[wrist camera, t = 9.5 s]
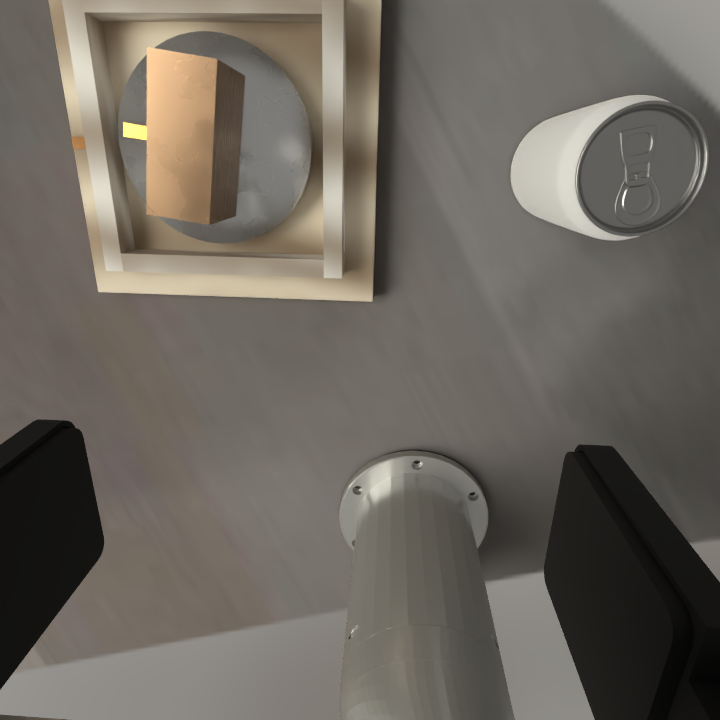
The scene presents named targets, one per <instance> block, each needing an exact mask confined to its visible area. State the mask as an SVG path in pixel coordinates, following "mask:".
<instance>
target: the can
mask: <svg viewBox="0 0 720 720" xmlns="http://www.w3.org/2000/svg"><path fill="white" fill-rule="evenodd" d="M708 166H709V146H708V141H707V137H706V134H705V132H704V130H703V128H702V126H701V124H700V123H699V121H698V120H697V119H696V118H695V117H694V116H693V115H692V114H691V113H690V112H689V111H688V110H686V109H684V108H683V107H681V106H679V105H677V104H674V103H671V102H669V101H667V100H664V99H662V98H659V97H655V96H649V95H631V96H624V97H620V98H615V99H612V100H608V101H605V102H601V103H598V104H594V105H591V106H588V107H584V108H581V109H578V110H574V111H571V112H568V113H565V114H561V115H558V116H555V117H553V118H550V119H548V120H545V121H544V122H542V123H540V124H539V125H537V126H536V127H534V128H533V129H532V130H531V131H530V132H529V133H528V134H527V135H526V136H525V137H524V139H523V140H522V141H521V143H520V144H519V146H518V148H517V150H516V152H515V154H514V157H513V161H512V165H511V184H512V189H513V192H514V194H515V196H516V198H517V200H518V202H519V203H520V204H521V205H522V207H523V208H524V209H526V210H527V211H528V212H529V213H531V214H532V215H534V216H536V217H538V218H541V219H543V220H546V221H548V222H551V223H554V224H556V225H559V226H562V227H565V228H567V229H570V230H573V231H576V232H579V233H581V234H584V235H587V236H590V237H594V238H598V239H603V240H626V239H631V238H635V237H638V236H641V235H646V234H649V233H653V232H655V231H658V230H660V229H662V228H664V227H666V226H667V225H669V224H671V223H672V222H674V221H675V220H676V219H677V218H679V217H680V216H681V215H682V214H683V213H684V212H685V211H686V210H687V209H688V208H689V207H690V206H691V204H692V203H693V202H694V200H695V199H696V197H697V196H698V194H699V192H700V190H701V188H702V186H703V184H704V181H705V178H706V175H707V171H708Z"/></svg>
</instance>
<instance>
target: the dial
mask: <svg viewBox="0 0 720 720" xmlns="http://www.w3.org/2000/svg"><path fill="white" fill-rule="evenodd" d="M118 137H119V145H120V150H121V156H122V159H123V162H124V165H125V168H126V171H127V173H128V175H129V178H130V180H131V182H132V184H133V186H134V187H135V189H136V191H137V193H138V194H139V195H140V197H141V198H142V200H143V201H144V202H145V204H146V214H148V215H154V216H158V217H159V218H160V219H161V220H162V221H164V222H165V223H166V224H168V225H169V226H171V227H172V228H174V229H175V230H177V231H179V232H181V233H183V234H185V235H187V236H189V237H192V238H195V239H197V240H201V241H206V242H210V243H220V244H224V243H237V242H243V241H246V240H250V239H253V238H256V237H258V236H260V235H262V234H264V233H266V232H268V231H270V230H271V229H273V228H274V227H276V226H277V225H279V224H280V223H281V222H282V221H283V220H285V219H286V218H287V217H288V216H289V215H290V214H291V212H292V211H293V210H294V209H295V208H296V206H297V205H298V203H299V201H300V200H301V198H302V197H303V194H304V192H305V190H306V188H307V186H308V182H309V179H310V176H311V172H312V166H313V159H314V139H313V131H312V125H311V121H310V117H309V114H308V111H307V108H306V106H305V103H304V101H303V99H302V97H301V94H300V93H299V91H298V89H297V88H296V86H295V84H294V83H293V82H292V80H291V79H290V78H289V76H288V75H287V74H286V72H285V71H284V70H283V69H282V68H281V67H280V66H279V65H278V64H277V63H276V62H275V61H273V60H272V59H271V58H270V57H269V56H268V55H266V54H265V53H264V52H262V51H261V50H260V49H258V48H257V47H255V46H253V45H252V44H250V43H248V42H247V41H245V40H242V39H240V38H237V37H235V36H232V35H228V34H224V33H220V32H211V31H197V32H189V33H185V34H180V35H177V36H175V37H172V38H170V39H167V40H166V41H164V42H162V43H161V44H159V45H157V46H156V47H155V48H150V47H147V54H146V55H145V57H144V58H143V59H142V60H141V61H140V62H139V63H138V65H137V66H136V68H135V69H134V71H133V72H132V74H131V75H130V77H129V80H128V82H127V84H126V86H125V89H124V92H123V95H122V98H121V102H120V108H119V114H118Z"/></svg>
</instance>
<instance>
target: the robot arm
mask: <svg viewBox="0 0 720 720" xmlns="http://www.w3.org/2000/svg"><path fill="white" fill-rule="evenodd" d="M417 460H418V461H417ZM340 525H341V530H342V533H343V536H344V538H345V540H346V542H347V544H348V545H349V546H350V548H351V549H352V550H353V552H354V554H353V564H352V574H351V584H350V593H349V603H348V613H347V622H346V632H345V642H344V652H343V662H342V671H341V681H340V692H339V713H340V720H515V719H514V714H513V710H512V705H511V701H510V696H509V692H508V687H507V683H506V678H505V674H504V669H503V665H502V660H501V655H500V651H499V646H498V642H497V637H496V633H495V628H494V623H493V619H492V614H491V609H490V605H489V600H488V596H487V591H486V586H485V582H484V577H483V573H482V568H481V563H480V559H479V554H478V550H477V549H478V548H479V546H480V545H481V543H482V541H483V539H484V537H485V535H486V531H487V527H488V508H487V504H486V500H485V497H484V494H483V491H482V489H481V487H480V485H479V484H478V482H477V481H476V479H475V478H474V477H473V476H472V475H471V474H470V473H469V472H468V471H467V469H465V468H464V467H462V466H461V465H459V464H458V463H457V462H455V461H453V460H451V459H449V458H446V457H444V456H442V455H438V454H434V453H431V452H424V451H401V452H395V453H391V454H387V455H384V456H382V457H379V458H377V459H375V460H373V461H371V462H370V463H368V464H367V465H365V466H364V467H362V468H361V469H360V470H359V471H358V472H357V473H356V474H355V475H354V476H353V477H352V478H351V480H350V481H349V483H348V485H347V486H346V488H345V491H344V493H343V496H342V499H341V506H340ZM103 547H104V536H103V531H102V526H101V521H100V516H99V512H98V507H97V502H96V497H95V492H94V487H93V482H92V477H91V472H90V467H89V463H88V458H87V453H86V448H85V443H84V438H83V435H82V432H81V431H80V430H79V429H76V428H75V426H74V425H73V424H72V423H71V422H69V421H62V420H36V421H34V422H32V423H31V424H29V425H28V426H26V427H25V428H23V429H22V430H21V431H19V432H18V433H16V434H15V435H14V436H12V437H11V438H9V439H8V440H6V441H5V442H4V443H2V444H1V445H0V689H1V688H2V687H3V685H4V684H5V683H6V681H7V680H8V679H9V677H10V676H11V675H12V673H13V672H14V671H15V670H16V668H17V667H18V666H19V664H20V663H21V662H22V660H23V659H24V658H25V656H26V655H27V654H28V652H29V651H30V650H31V648H32V647H33V646H34V644H35V643H36V642H37V640H38V639H39V638H40V636H41V635H42V634H43V632H44V631H45V630H46V628H47V627H48V626H49V624H50V623H51V622H52V620H53V619H54V618H55V616H56V615H57V614H58V612H59V611H60V610H61V608H62V607H63V606H64V604H65V603H66V602H67V600H68V599H69V598H70V596H71V595H72V594H73V592H74V591H75V590H76V589H77V587H78V586H79V585H80V583H81V582H82V581H83V579H84V578H85V577H86V575H87V574H88V573H89V571H90V570H91V569H92V567H93V566H94V565H95V563H96V562H97V561H98V559H99V558H100V556H101V554H102V551H103ZM544 575H545V576H544V577H545V583H546V586H547V589H548V592H549V595H550V597H551V600H552V603H553V606H554V608H555V611H556V614H557V617H558V619H559V622H560V625H561V628H562V630H563V633H564V636H565V639H566V641H567V644H568V647H569V650H570V652H571V655H572V658H573V661H574V663H575V666H576V669H577V672H578V674H579V677H580V680H581V683H582V685H583V688H584V691H585V694H586V696H587V699H588V702H589V705H590V707H591V710H592V713H593V716H594V718H595V720H720V582H719V581H718V580H717V578H716V577H715V576H714V575H713V573H712V572H711V571H710V569H709V568H708V567H707V566H706V564H705V563H704V562H703V561H702V560H701V558H700V557H699V555H698V554H697V553H696V552H695V550H694V549H693V548H692V546H691V545H690V544H689V543H688V541H687V540H686V539H685V537H684V536H683V535H682V534H681V532H680V531H679V530H678V529H677V527H676V526H675V525H674V523H673V522H672V521H671V520H670V518H669V517H668V516H667V515H666V513H665V512H664V511H663V509H662V508H661V507H660V506H659V504H658V503H657V502H656V501H655V499H654V498H653V497H652V495H651V494H650V493H649V492H648V490H647V489H646V488H645V486H644V485H643V484H642V483H641V481H640V480H639V479H638V478H637V476H636V475H635V474H634V472H633V471H632V470H631V469H630V467H629V466H628V465H627V464H626V462H625V461H624V460H623V458H622V457H621V456H620V455H619V453H618V452H617V451H616V450H615V449H614V448H613V447H612V446H600V445H578V446H577V447H576V449H575V452H568V453H567V454H566V455H565V459H564V463H563V469H562V474H561V479H560V485H559V490H558V495H557V501H556V506H555V511H554V516H553V522H552V527H551V532H550V538H549V543H548V548H547V554H546V559H545V565H544ZM0 720H65V719H52V718H38V717H25V716H10V715H0Z"/></svg>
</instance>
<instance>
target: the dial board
mask: <svg viewBox="0 0 720 720" xmlns="http://www.w3.org/2000/svg"><path fill="white" fill-rule="evenodd" d="M49 6H50V12H51V18H52V24H53V29H54V35H55V41H56V47H57V53H58V59H59V65H60V70H61V76H62V82H63V88H64V94H65V100H66V105H67V111H68V117H69V123H70V129H71V135H72V142H73V148H74V152H75V158H76V164H77V170H78V175H79V181H80V187H81V193H82V199H83V205H84V211H85V216H86V222H87V228H88V234H89V240H90V246H91V251H92V257H93V263H94V269H95V275H96V281H97V286H98V292H115V293H144V294H172V295H201V296H229V297H258V298H286V299H315V300H343V301H373V285H374V252H375V219H376V185H377V152H378V119H379V85H380V52H381V19H382V0H49ZM197 31H211V32H220V33H224V34H228V35H232V36H235V37H237V38H240V39H242V40H245V41H247V42H248V43H250V44H252V45H253V46H255V47H257V48H258V49H260V50H261V51H262V52H264V53H265V54H266V55H268V56H269V57H270V58H271V59H272V60H273V61H275V62H276V63H277V64H278V65H279V66H280V67H281V68H282V69H283V70H284V71H285V72H286V74H287V75H288V76H289V78H290V79H291V80H292V82H293V83H294V84H295V86H296V88H297V89H298V91H299V93H300V94H301V97H302V99H303V101H304V103H305V106H306V108H307V111H308V114H309V117H310V121H311V125H312V131H313V139H314V159H313V166H312V172H311V176H310V179H309V182H308V186H307V188H306V190H305V192H304V194H303V197H302V198H301V200H300V201H299V203H298V205H297V206H296V208H295V209H294V210H293V211H292V212H291V214H290V215H289V216H288V217H287V218H286V219H285V220H283V221H282V222H281V223H280V224H279V225H277V226H276V227H274V228H273V229H271V230H270V231H268V232H266V233H264V234H262V235H260V236H258V237H256V238H253V239H250V240H246V241H243V242H237V243H224V244H220V243H210V242H206V241H201V240H197V239H195V238H192V237H189V236H187V235H185V234H183V233H181V232H179V231H177V230H175V229H174V228H172V227H171V226H169V225H168V224H166V223H165V222H164V221H162V220H161V219H160V218H159V217H158V216H154V215H148V214H146V204H145V202H144V201H143V200H142V198H141V197H140V195H139V194H138V193H137V191H136V189H135V187H134V186H133V184H132V182H131V180H130V178H129V175H128V173H127V171H126V168H125V165H124V162H123V159H122V156H121V150H120V145H119V137H118V114H119V108H120V102H121V98H122V95H123V92H124V89H125V86H126V84H127V82H128V80H129V77H130V75H131V74H132V72H133V71H134V69H135V68H136V66H137V65H138V63H139V62H140V61H141V60H142V59H143V58H144V57H145V55H146V54H147V47H150V48H155V47H156V46H157V45H159V44H161V43H162V42H164V41H166V40H167V39H170V38H172V37H175V36H177V35H180V34H185V33H189V32H197Z"/></svg>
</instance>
